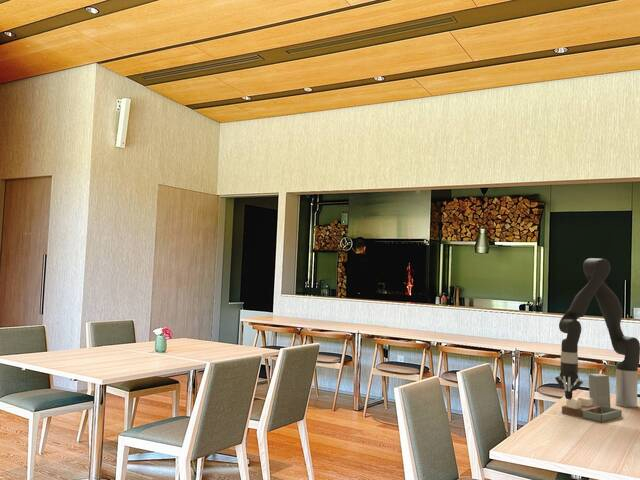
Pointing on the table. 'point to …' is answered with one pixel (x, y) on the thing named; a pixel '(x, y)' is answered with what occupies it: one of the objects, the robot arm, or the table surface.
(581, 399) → the tile
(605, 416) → the tray
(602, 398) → the skincare box
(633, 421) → the table surface
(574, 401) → the cream square block
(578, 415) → the walnut board
